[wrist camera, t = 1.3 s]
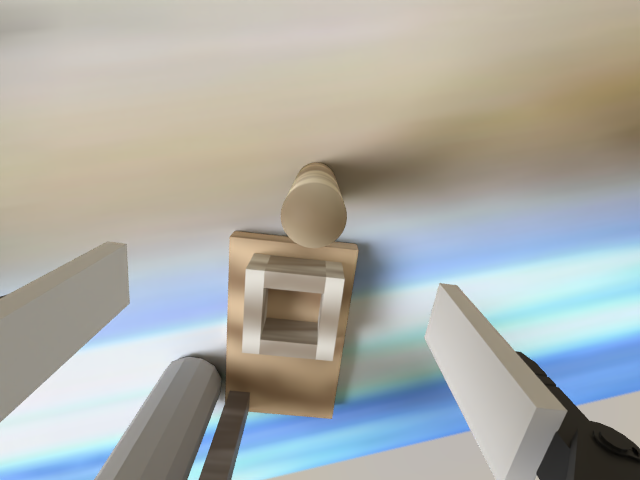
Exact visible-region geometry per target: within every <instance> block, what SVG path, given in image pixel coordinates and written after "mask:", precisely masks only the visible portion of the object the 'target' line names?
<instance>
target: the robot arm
mask: <svg viewBox="0 0 640 480" xmlns="http://www.w3.org/2000/svg"><path fill="white" fill-rule="evenodd" d="M129 303H130V300H129V281H128V262H127V244H123V243H115V242H106V243H104V244H102V245H100V246H98V247H96V248H94V249H93V250H91V251H89V252H87V253H85V254H83V255H81V256H79V257H78V258H76V259H74V260H72V261H70V262H68V263H66V264H64V265H63V266H61V267H59V268H57V269H55V270H53V271H51V272H49V273H47V274H46V275H44V276H42V277H40V278H38V279H36V280H34V281H32V282H31V283H29V284H27V285H25V286H23V287H21V288H19V289H17V290H16V291H14V292H12V293H10V294H8V295H4V296H1V297H0V422H1V421H2V420H3V419H4V418H6V417H7V416H8V415H9V414H10V413H11V412H12V411H13V410H14V409H15V408H16V407H17V406H19V405H20V404H21V403H22V402H23V401H24V400H25V399H26V398H27V397H28V396H29V395H31V394H32V393H33V392H34V391H35V390H36V389H37V388H38V387H39V386H40V385H41V384H42V383H44V382H45V381H46V380H47V379H48V378H49V377H50V376H51V375H52V374H53V373H54V372H56V371H57V370H58V369H59V368H60V367H61V366H62V365H63V364H64V363H65V362H66V361H67V360H69V359H70V358H71V357H72V356H73V355H74V354H75V353H76V352H77V351H78V350H79V349H81V348H82V347H83V346H84V345H85V344H86V343H87V342H88V341H89V340H90V339H91V338H92V337H94V336H95V335H96V334H97V333H98V332H99V331H100V330H101V329H102V328H103V327H104V326H106V325H107V324H108V323H109V322H110V321H111V320H112V319H113V318H114V317H115V316H116V315H117V314H119V313H120V312H121V311H122V310H123V309H124V308H125V307H126V306H127V305H128V304H129ZM424 338H425V340H426V342H427V344H428V346H429V348H430V350H431V352H432V354H433V356H434V358H435V360H436V362H437V364H438V366H439V368H440V370H441V372H442V374H443V376H444V378H445V380H446V382H447V384H448V386H449V388H450V390H451V392H452V394H453V396H454V398H455V400H456V402H457V404H458V406H459V408H460V410H461V412H462V414H463V416H464V418H465V420H466V422H467V424H468V426H469V428H470V430H471V432H472V434H473V435H474V438H475V439H476V441H477V443H478V446H479V447H480V450H481V451H482V454H483V456H484V457H485V459H486V461H487V463H488V465H489V467H490V469H491V471H492V473H493V475H494V477H495V479H496V480H535V478H536V476H538V477H539V479H540V480H640V448H639V447H638V446H637V445H636V444H635V443H633V442H632V441H631V440H629V439H628V438H627V437H626V436H624V435H623V434H621V433H619V432H617V431H616V430H614V429H613V428H611V427H608V426H605V425H603V424H601V423H597V422H592V421H589V420H588V419H587V418H586V417H585V415H584V414H583V413H582V412H581V411H580V410H579V409H578V408H577V407H576V406H575V405H574V404H573V402H572V401H571V400H570V399H569V398H568V397H567V396H566V395H565V394H564V393H563V392H562V391H561V390H560V388H559V387H556V384H555V383H554V382H553V381H552V380H551V379H550V378H549V377H547V374H546V373H545V372H544V371H543V370H542V369H541V368H540V367H539V366H538V365H537V364H536V363H535V362H534V361H532V360H531V359H530V358H528V357H527V356H525V355H524V354H523V353H521V352H516V351H514V350H513V348H512V347H511V346H510V345H509V344H508V343H507V342H506V341H505V339H504V338H503V337H502V336H501V335H500V334H499V333H498V331H497V330H496V329H495V328H494V327H493V326H492V325H491V323H490V322H489V321H488V320H487V319H486V318H485V317H484V316H483V314H482V313H481V312H480V311H479V310H478V309H477V308H476V306H475V305H474V304H473V303H472V302H471V301H470V300H469V299H468V297H467V296H466V295H465V294H464V293H463V292H462V291H461V289H460V288H459V287H458V286H457V285H450V284H442V283H439V287H438V290H437V294H436V298H435V301H434V305H433V308H432V312H431V316H430V319H429V323H428V326H427V330H426V334H425V337H424Z"/></svg>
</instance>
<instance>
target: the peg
mask: <svg viewBox="0 0 640 480" xmlns="http://www.w3.org/2000/svg"><path fill="white" fill-rule="evenodd" d="M346 220H347V212H346V208H345V205H344V202H343V199H342V196H341V193H340V190H339V187H338V184H337V181H336V178H335V175H334V173H333V171H332V170H331V169H330V168H329V167H328V166H326V165H325V164H322V163H310V164H307V165H306V166H304V167H303V168H302V169H301V170H300V171H299V173H298V175H297V177H296V179H295V181H294V183H293V185H292V187H291V189H290V191H289V193H288V195H287V197H286V199H285V201H284V203H283V206H282V209H281V223H282V226H283V229H284V231H285V232H286V234H287V235H288V237H289V238H290V239H291V240H293V241H294V242H295V243H297V244H299V245H301V246H304V247H308V248H320V247H324V246H327V245H329V244H331V243H333V242H334V241H335V240H336V239H337V238H338V237H339V236H340V235H341V234H342V232H343V230H344V228H345V225H346Z"/></svg>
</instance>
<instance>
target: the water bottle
mask: <svg viewBox="0 0 640 480" xmlns="http://www.w3.org/2000/svg"><path fill="white" fill-rule="evenodd" d="M221 381H222V379H221V377H220V375H219V374H218V372H217V370H216V368H215V367H214V366H213V365H212V364H210V363H209V362H207V361H206V360H204V359H201V358H194V357H185V358H182V359H179V360H176V361H173V362H171V364H170V365H169V366H168V367H167V369H166V370H165V371H164V372H163V374H162V376H161V377H160V379H159V380H158V382H157V383H156V385H155V386H154V388H153V390H152V391H151V393H150V394H149V396H148V397H147V399H146V400H145V402H144V403H143V405H142V407H141V408H140V410H139V411H138V413H137V414H136V416H135V417H134V419H133V420H132V422H131V424H130V425H129V427H128V428H127V430H126V431H125V433H124V434H123V436H122V438H121V439H120V441H119V442H118V444H117V445H116V447H115V448H114V450H113V451H112V453H111V455H110V456H109V458H108V459H107V461H106V462H105V464H104V465H103V467H102V468H101V470H100V472H99V473H98V475H97V476H96V478H95V479H94V480H187V478H188V476H189V473H190V471H191V468H192V465H193V463H194V460H195V457H196V455H197V452H198V450H199V447H200V444H201V442H202V439H203V436H204V434H205V431H206V428H207V426H208V423H209V421H210V418H211V415H212V413H213V410H214V407H215V405H216V402H217V400H218V397H219V394H220V392H221Z"/></svg>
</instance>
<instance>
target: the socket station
mask: <svg viewBox="0 0 640 480" xmlns="http://www.w3.org/2000/svg"><path fill="white" fill-rule="evenodd" d="M358 251H359V250H358V247H357V244H352V243H343V242H333V243H331V244H329V245H327V246H324V247H320V248H308V247H304V246H301V245H299V244H297V243H295V242H294V241H293V240H291V239H290V238H289V237H286V236H277V235H268V234H258V233H249V232H239V231H234V232H233V234H232V235H231V236H230V246H229V282H228V317H227V353H226V388H225V406H224V408H223V411H222V414H221V417H220V420H219V423H218V426H217V429H216V432H215V434H214V437H213V440H212V443H211V446H210V449H209V452H208V455H207V458H206V460H205V463H204V466H203V469H202V472H201V475H200V478H199V480H231V478H232V474H233V470H234V466H235V462H236V458H237V454H238V450H239V446H240V442H241V438H242V435H243V431H244V427H245V423H246V419H247V415H248V411H249V412H260V413H272V414H283V415H295V416H306V417H318V418H329V419H332V415H333V408H334V402H335V396H336V390H337V383H338V377H339V371H340V364H341V358H342V352H343V345H344V339H345V333H346V326H347V320H348V314H349V308H350V301H351V295H352V289H353V282H354V276H355V270H356V263H357V257H358Z"/></svg>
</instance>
